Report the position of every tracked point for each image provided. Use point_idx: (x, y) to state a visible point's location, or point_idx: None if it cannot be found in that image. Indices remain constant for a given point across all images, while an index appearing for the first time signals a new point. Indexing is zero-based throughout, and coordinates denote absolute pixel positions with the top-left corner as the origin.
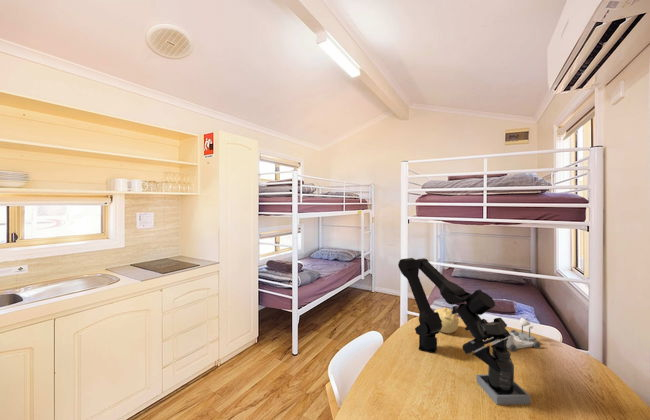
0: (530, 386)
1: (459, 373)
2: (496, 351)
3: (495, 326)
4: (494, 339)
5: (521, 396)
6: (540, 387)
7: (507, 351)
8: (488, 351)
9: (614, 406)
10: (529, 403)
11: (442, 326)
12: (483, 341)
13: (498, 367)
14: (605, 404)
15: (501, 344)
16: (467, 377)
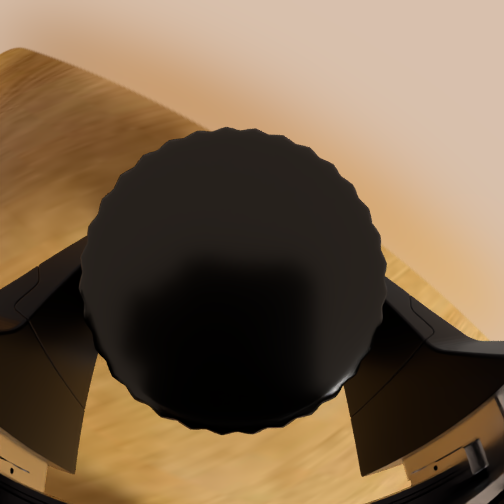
0: (51, 228)
1: (253, 467)
2: (380, 298)
3: None
4: (23, 500)
5: None
6: (31, 201)
7: (164, 181)
8: (475, 345)
9: (14, 70)
10: None
11: None
12: (493, 488)
13: None
14: (16, 79)
15: (5, 370)
16: (248, 436)
